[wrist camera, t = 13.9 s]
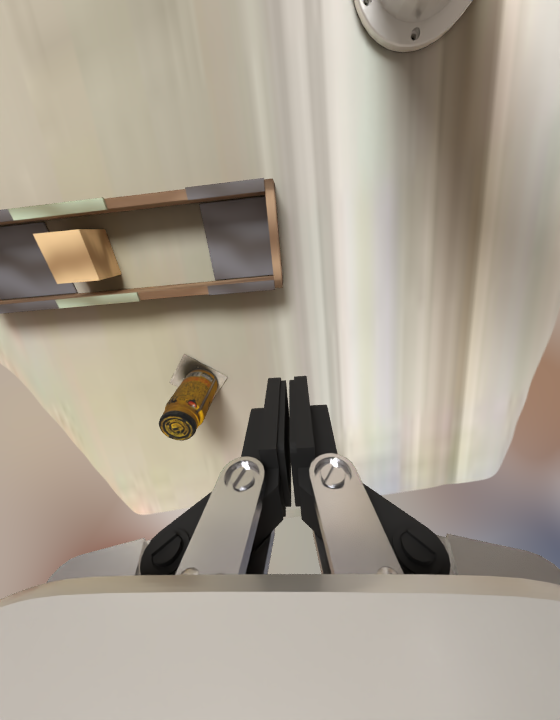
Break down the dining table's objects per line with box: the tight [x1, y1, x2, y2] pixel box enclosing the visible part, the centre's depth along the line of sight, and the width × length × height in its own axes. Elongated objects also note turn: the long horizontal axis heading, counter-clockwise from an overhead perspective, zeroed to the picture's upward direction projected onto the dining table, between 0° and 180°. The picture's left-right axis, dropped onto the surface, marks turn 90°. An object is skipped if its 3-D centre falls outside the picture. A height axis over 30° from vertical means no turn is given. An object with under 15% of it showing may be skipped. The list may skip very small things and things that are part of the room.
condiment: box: [159, 354, 227, 440], centre depth 40 cm, size 7×8×12 cm
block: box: [33, 229, 121, 284], centre depth 34 cm, size 6×6×5 cm
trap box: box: [0, 178, 283, 313], centre depth 34 cm, size 12×46×4 cm, turn 95°
